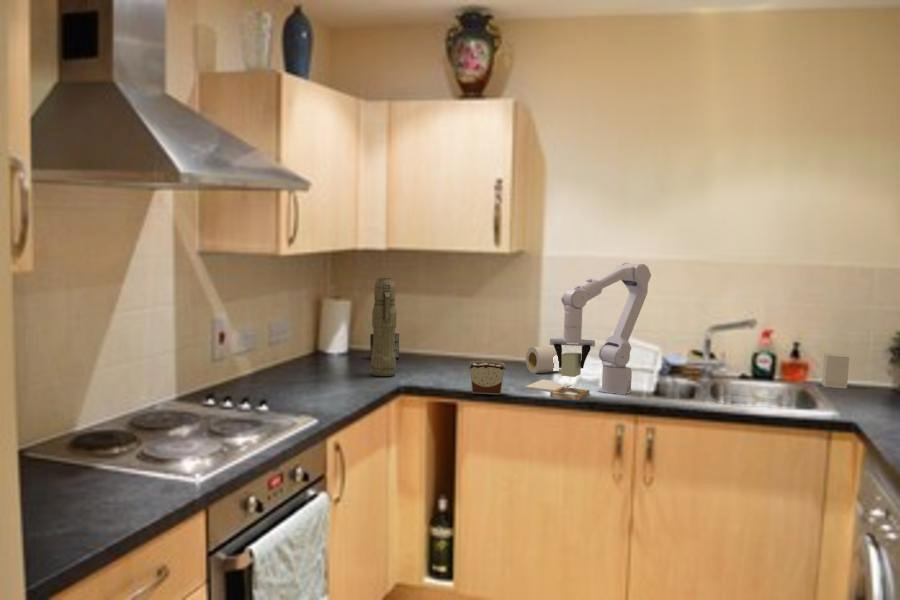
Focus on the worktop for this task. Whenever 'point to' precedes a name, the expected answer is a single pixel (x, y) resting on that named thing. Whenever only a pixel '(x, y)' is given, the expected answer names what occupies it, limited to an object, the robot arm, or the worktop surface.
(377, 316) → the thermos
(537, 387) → the beige mat
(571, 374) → the green block
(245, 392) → the worktop surface
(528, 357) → the toilet paper
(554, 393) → the wooden square frame
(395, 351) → the small box
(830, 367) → the supplement box
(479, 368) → the food container
